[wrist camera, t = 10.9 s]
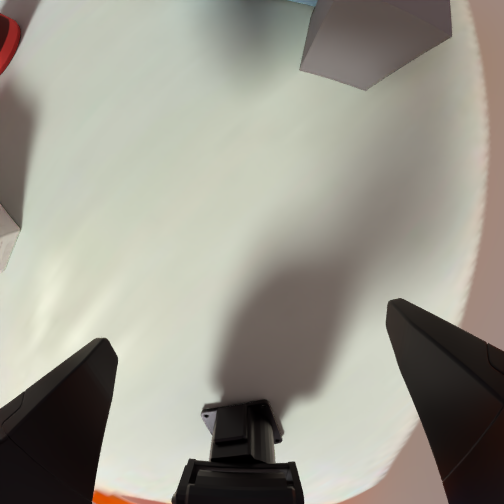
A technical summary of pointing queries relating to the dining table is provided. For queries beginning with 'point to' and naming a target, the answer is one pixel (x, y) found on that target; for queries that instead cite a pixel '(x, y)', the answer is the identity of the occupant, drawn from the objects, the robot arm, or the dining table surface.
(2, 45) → the canned food
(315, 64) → the block
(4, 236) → the small box
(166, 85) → the dining table surface
